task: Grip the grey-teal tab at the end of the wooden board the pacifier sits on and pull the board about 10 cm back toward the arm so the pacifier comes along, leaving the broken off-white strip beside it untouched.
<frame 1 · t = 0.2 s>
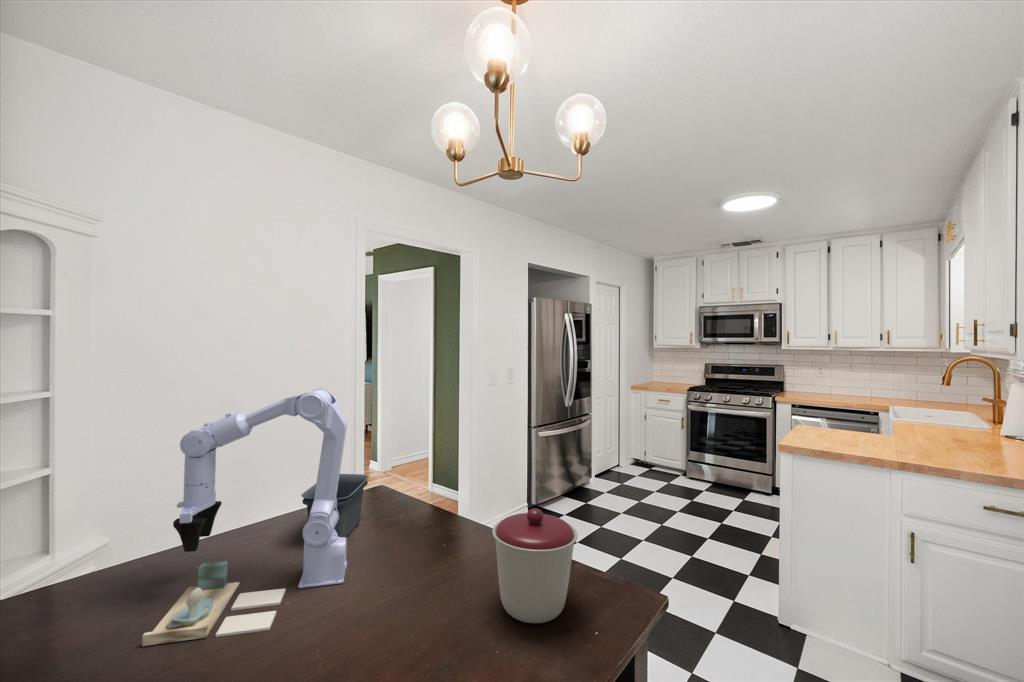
hand: (197, 543, 98), 10 cm above the table, tool pointing down, fingers open, 7 cm apart
broken strip: (253, 611, 90), on the table
wooden board: (197, 597, 89), point 3 cm above the table, slide at 0.0 cm, touching pacifier
pacifier: (188, 621, 86), resting on wooden board
canister: (532, 609, 94), on the table
storage bin: (332, 534, 127), on the table
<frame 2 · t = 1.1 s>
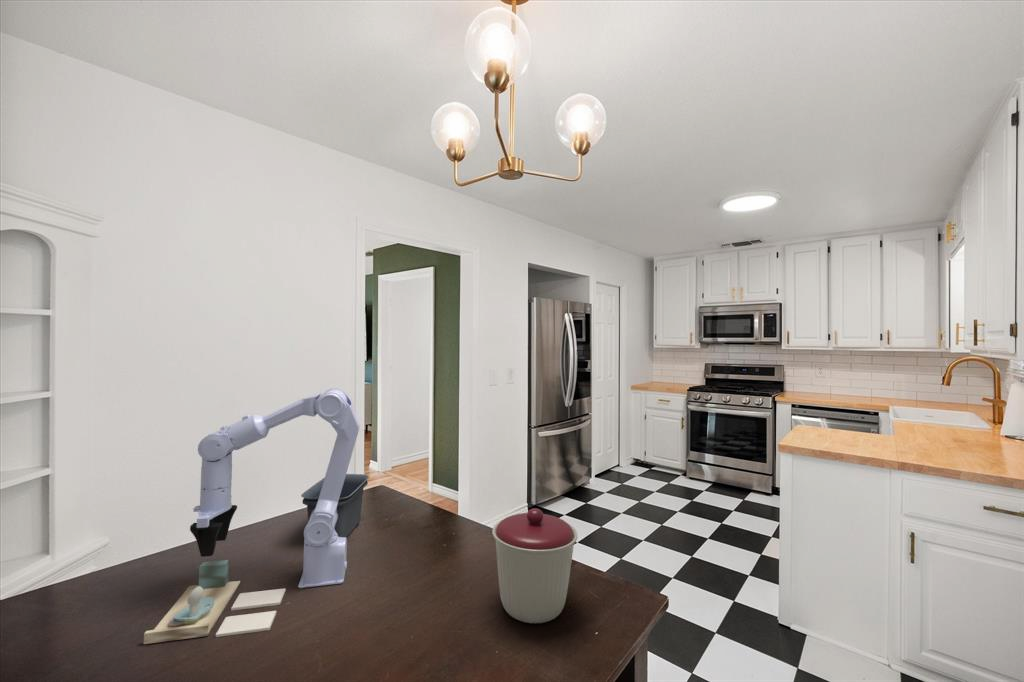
hand: (213, 547, 98), 9 cm above the table, tool pointing down, fingers open, 7 cm apart
wooden board: (198, 596, 90), point 3 cm above the table, slide at 0.5 cm, touching pacifier
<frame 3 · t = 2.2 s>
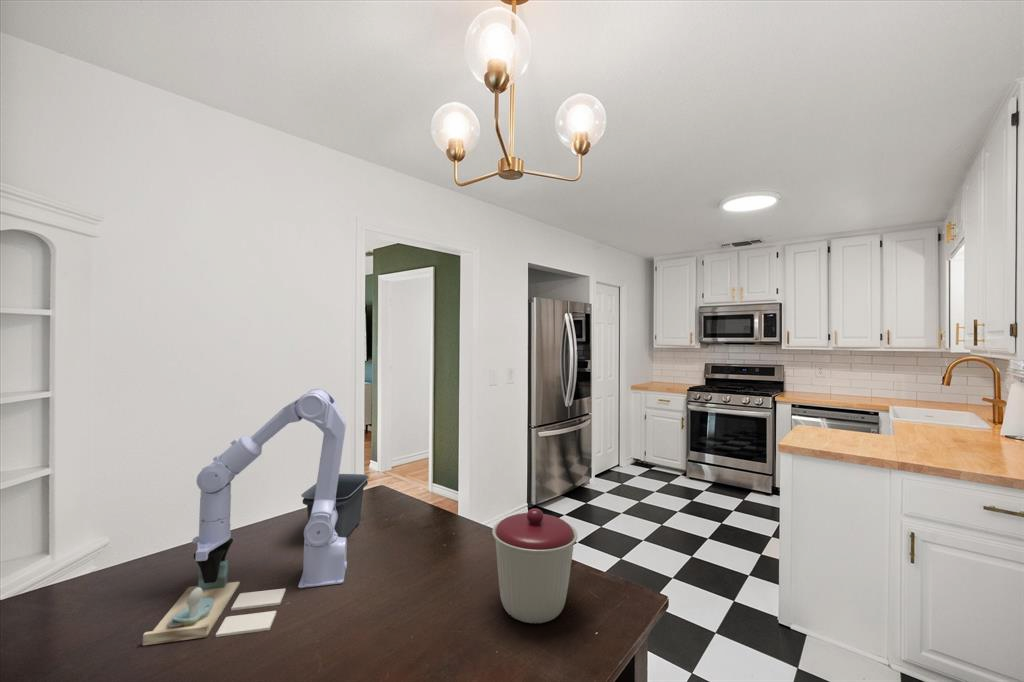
hand: (212, 578, 97), 2 cm above the table, tool pointing down, fingers closed
wooden board: (197, 597, 89), point 3 cm above the table, slide at 0.2 cm, touching gripper, pacifier
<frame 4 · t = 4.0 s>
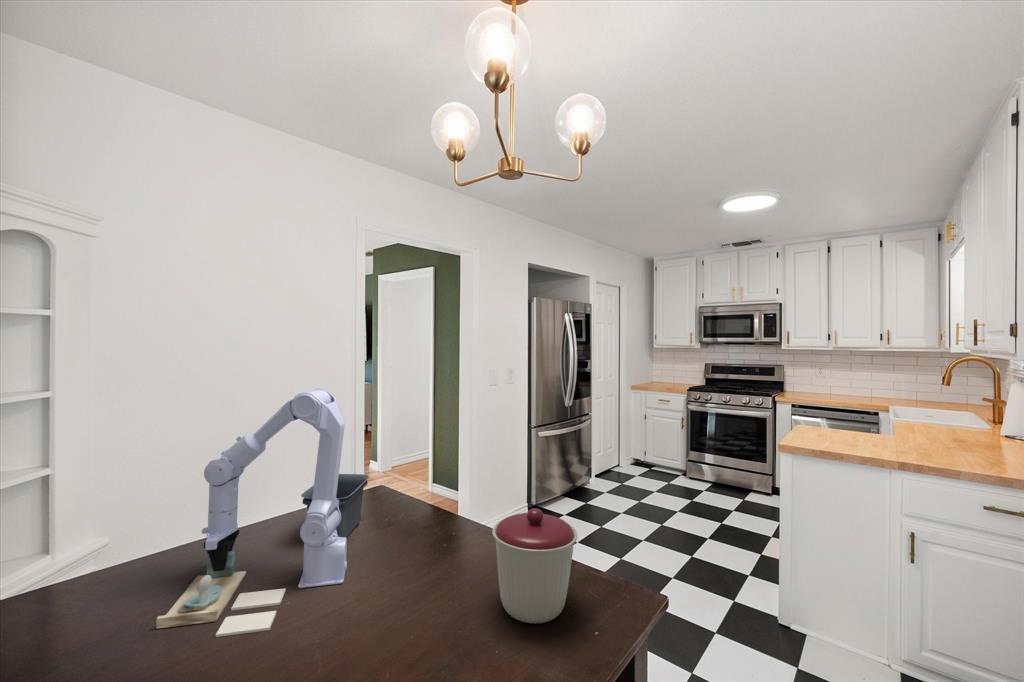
hand: (221, 567, 102), 2 cm above the table, tool pointing down, fingers closed on wooden board, 2 cm apart
wooden board: (206, 584, 94), point 3 cm above the table, slide at 5.0 cm, touching gripper, pacifier
pacifier: (199, 606, 91), resting on wooden board
everything else where it was.
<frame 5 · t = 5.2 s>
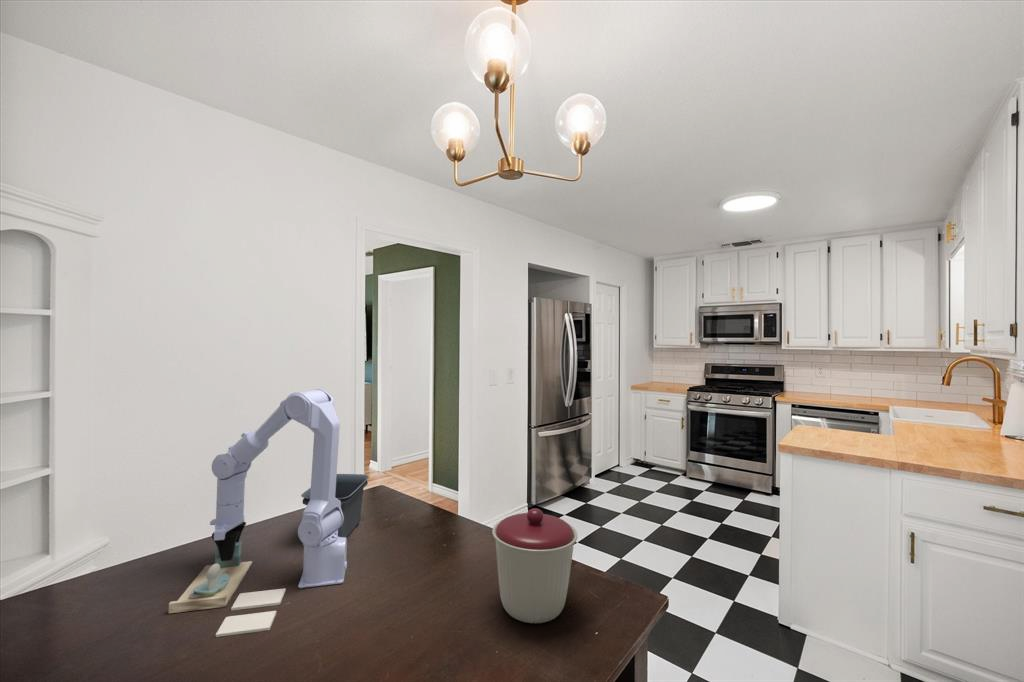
hand: (228, 557, 107), 2 cm above the table, tool pointing down, fingers closed on wooden board, 2 cm apart
wooden board: (215, 573, 99), point 3 cm above the table, slide at 10.0 cm, touching gripper, pacifier
pacifier: (208, 593, 95), resting on wooden board
everything else where it was.
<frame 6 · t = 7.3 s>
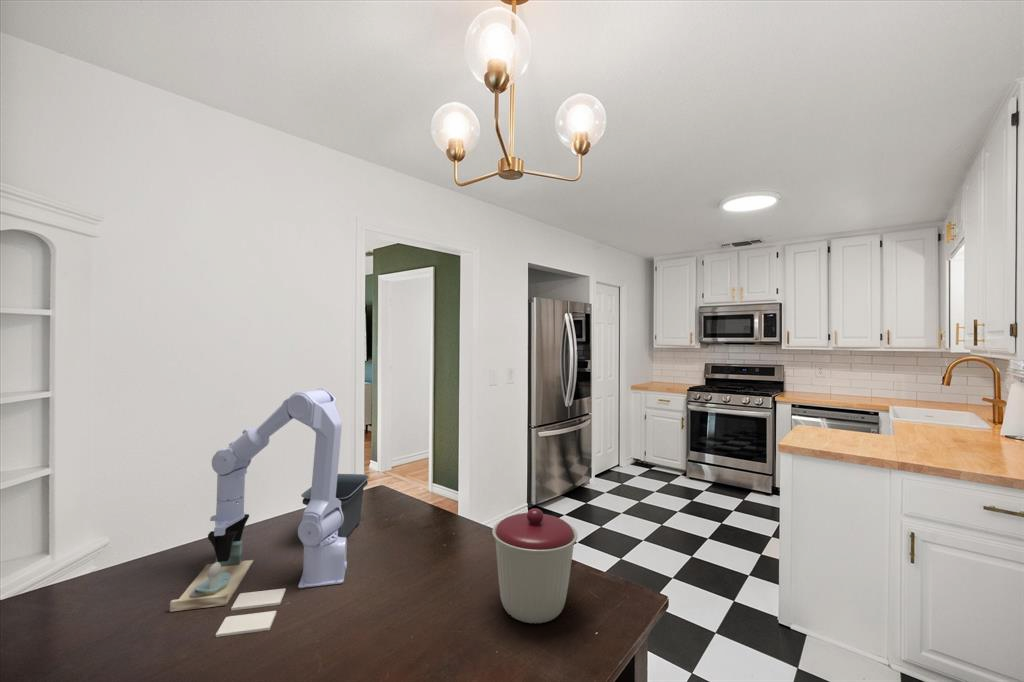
hand: (228, 553, 107), 3 cm above the table, tool pointing down, fingers open, 7 cm apart
wooden board: (216, 571, 99), point 3 cm above the table, slide at 10.6 cm, touching pacifier
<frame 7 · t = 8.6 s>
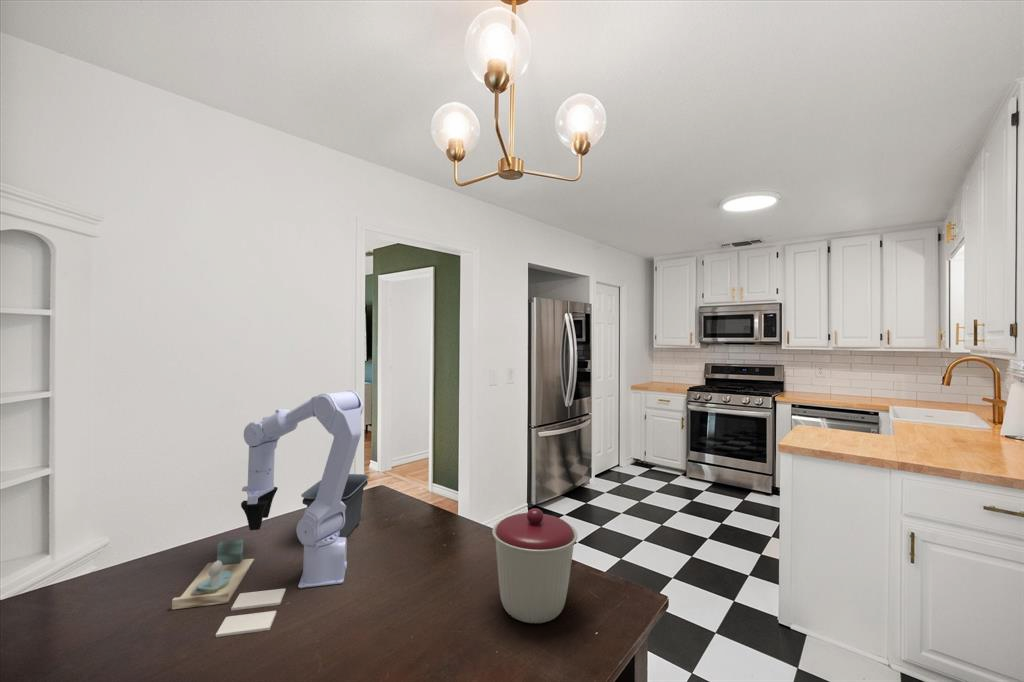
hand: (259, 523, 111), 9 cm above the table, tool pointing down, fingers open, 7 cm apart
wooden board: (217, 570, 100), point 3 cm above the table, slide at 11.3 cm, touching pacifier
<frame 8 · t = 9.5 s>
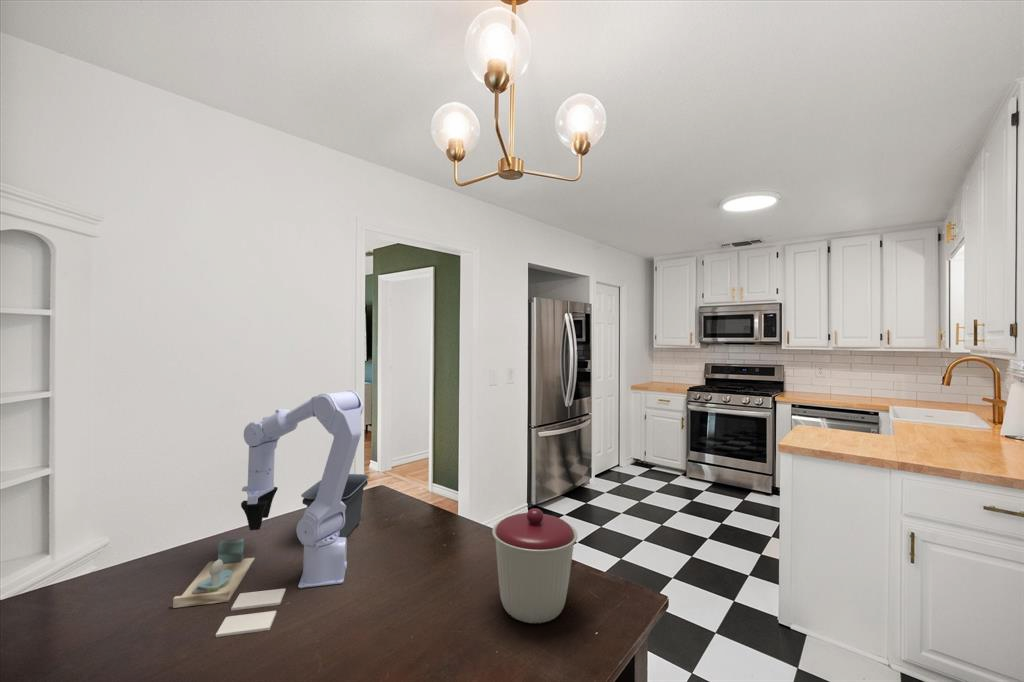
hand: (259, 523, 111), 9 cm above the table, tool pointing down, fingers open, 7 cm apart
wooden board: (218, 569, 101), point 3 cm above the table, slide at 11.9 cm, touching pacifier
at the end: wooden board slide at 12.0 cm; pacifier inside the target area (0.1 cm from its centre), resting on wooden board; pacifier moved 11.9 cm from its start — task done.
